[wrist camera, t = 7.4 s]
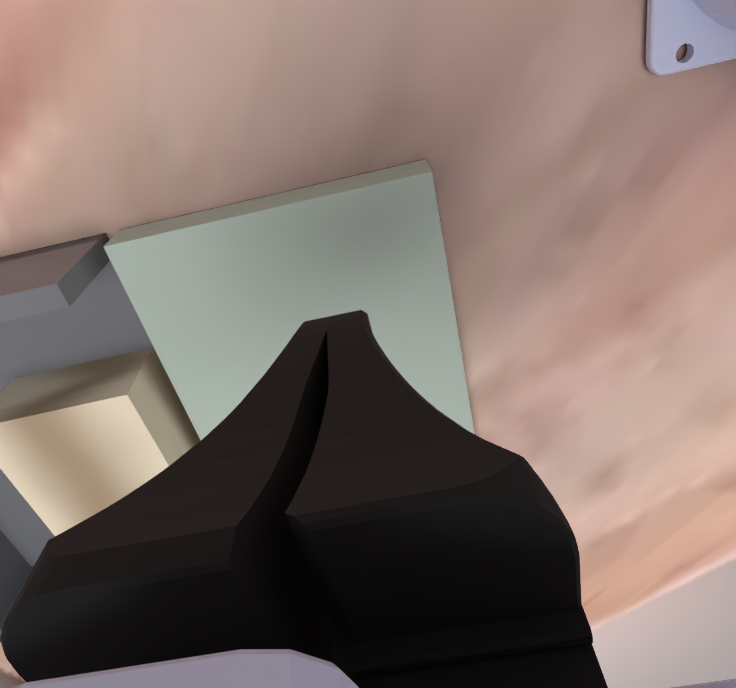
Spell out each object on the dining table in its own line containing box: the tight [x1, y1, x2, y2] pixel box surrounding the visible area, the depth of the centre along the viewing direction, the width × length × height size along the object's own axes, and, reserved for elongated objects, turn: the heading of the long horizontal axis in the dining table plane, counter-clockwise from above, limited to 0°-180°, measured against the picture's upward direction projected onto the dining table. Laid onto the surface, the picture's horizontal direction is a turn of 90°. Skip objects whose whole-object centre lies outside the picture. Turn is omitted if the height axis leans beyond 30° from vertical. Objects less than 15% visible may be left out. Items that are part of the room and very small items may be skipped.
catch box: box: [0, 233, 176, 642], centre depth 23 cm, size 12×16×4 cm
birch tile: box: [0, 347, 201, 536], centre depth 23 cm, size 6×6×3 cm
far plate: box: [104, 159, 475, 440], centre depth 23 cm, size 11×16×2 cm
